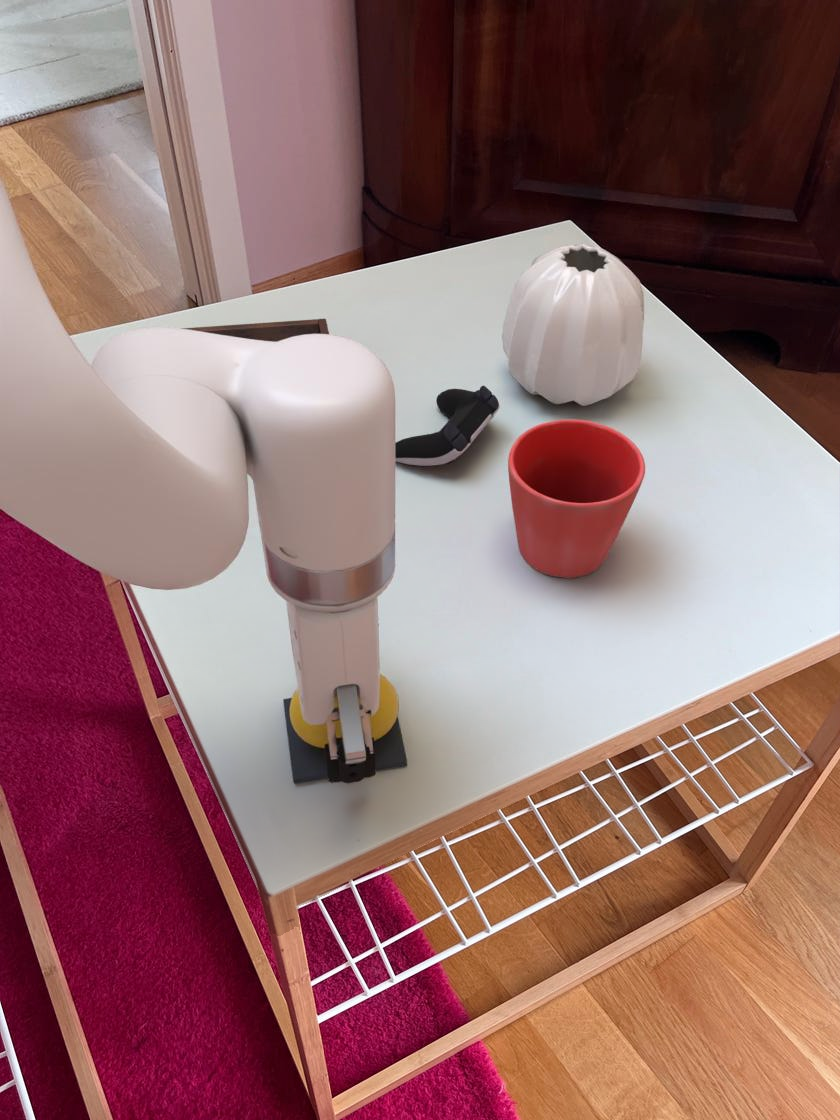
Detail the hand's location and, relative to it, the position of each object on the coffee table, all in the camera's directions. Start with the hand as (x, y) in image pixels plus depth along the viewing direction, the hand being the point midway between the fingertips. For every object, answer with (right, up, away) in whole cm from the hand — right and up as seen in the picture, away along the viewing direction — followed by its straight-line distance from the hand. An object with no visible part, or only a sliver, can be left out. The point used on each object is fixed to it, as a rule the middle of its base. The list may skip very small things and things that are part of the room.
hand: (342, 718), depth 69 cm
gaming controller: (+7, +24, +23) cm, 34 cm away
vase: (+19, +32, +31) cm, 48 cm away
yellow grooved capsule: (0, -1, +1) cm, 1 cm away
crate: (-13, +29, +25) cm, 40 cm away
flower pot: (+17, +13, +15) cm, 27 cm away
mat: (0, -1, +2) cm, 2 cm away
